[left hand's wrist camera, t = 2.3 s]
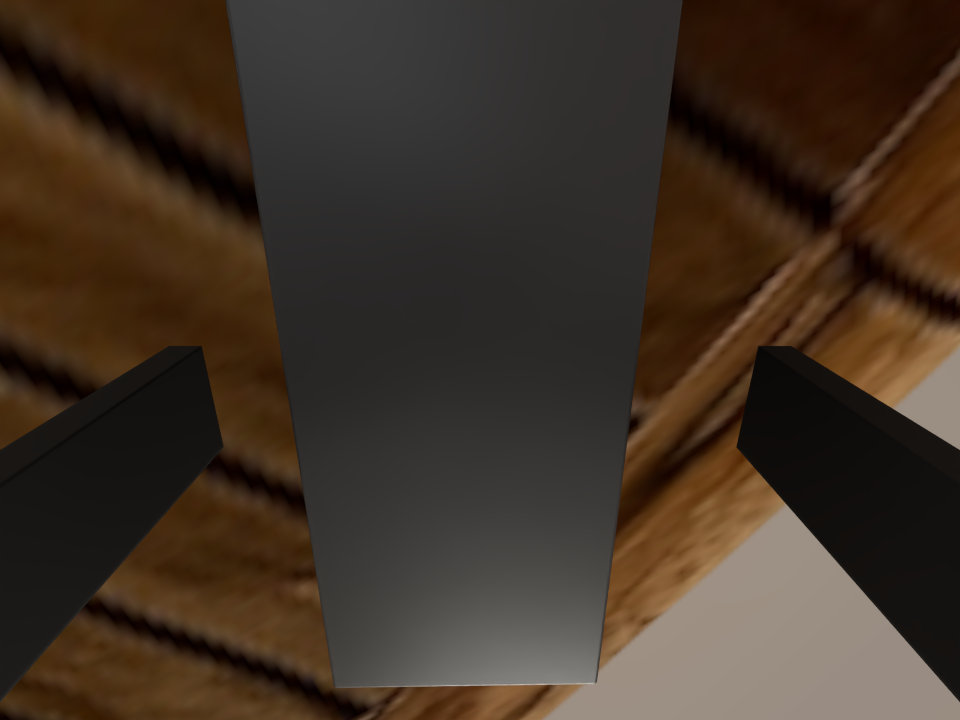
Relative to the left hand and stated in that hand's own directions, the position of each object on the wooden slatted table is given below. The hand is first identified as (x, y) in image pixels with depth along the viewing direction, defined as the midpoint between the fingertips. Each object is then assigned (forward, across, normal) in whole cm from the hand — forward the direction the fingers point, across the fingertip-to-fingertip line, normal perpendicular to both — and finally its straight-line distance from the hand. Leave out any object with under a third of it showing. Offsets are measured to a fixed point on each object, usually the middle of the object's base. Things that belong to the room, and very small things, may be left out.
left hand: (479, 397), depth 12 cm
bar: (+4, 0, -11) cm, 12 cm away
